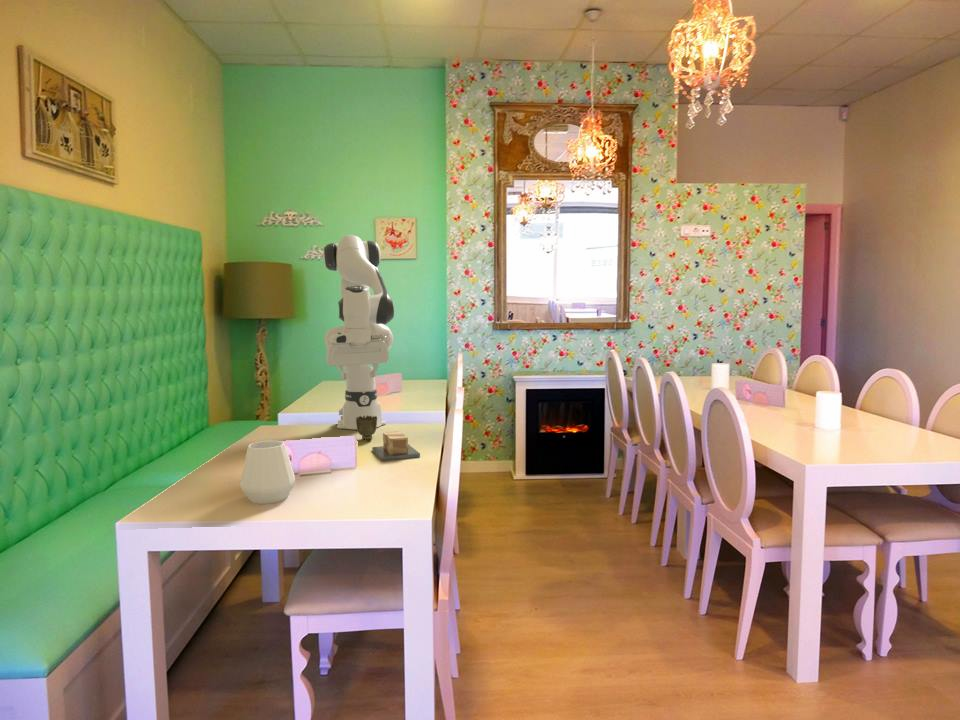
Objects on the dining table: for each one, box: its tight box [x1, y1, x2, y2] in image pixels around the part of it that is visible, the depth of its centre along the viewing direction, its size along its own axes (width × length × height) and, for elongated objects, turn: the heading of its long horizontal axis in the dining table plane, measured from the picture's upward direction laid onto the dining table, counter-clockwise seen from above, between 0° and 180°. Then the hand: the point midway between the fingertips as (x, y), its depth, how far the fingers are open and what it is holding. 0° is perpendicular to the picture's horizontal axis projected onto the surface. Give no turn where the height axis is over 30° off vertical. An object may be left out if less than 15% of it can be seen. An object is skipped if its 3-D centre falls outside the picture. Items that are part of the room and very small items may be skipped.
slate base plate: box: [371, 443, 421, 462], centre depth 208 cm, size 14×12×4 cm
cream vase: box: [239, 439, 296, 505], centre depth 165 cm, size 13×13×14 cm
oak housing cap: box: [382, 430, 409, 455], centre depth 208 cm, size 10×6×5 cm, turn 22°
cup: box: [356, 415, 377, 441], centre depth 229 cm, size 8×7×8 cm
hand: (358, 377), depth 214 cm, fingers open, 8 cm apart
